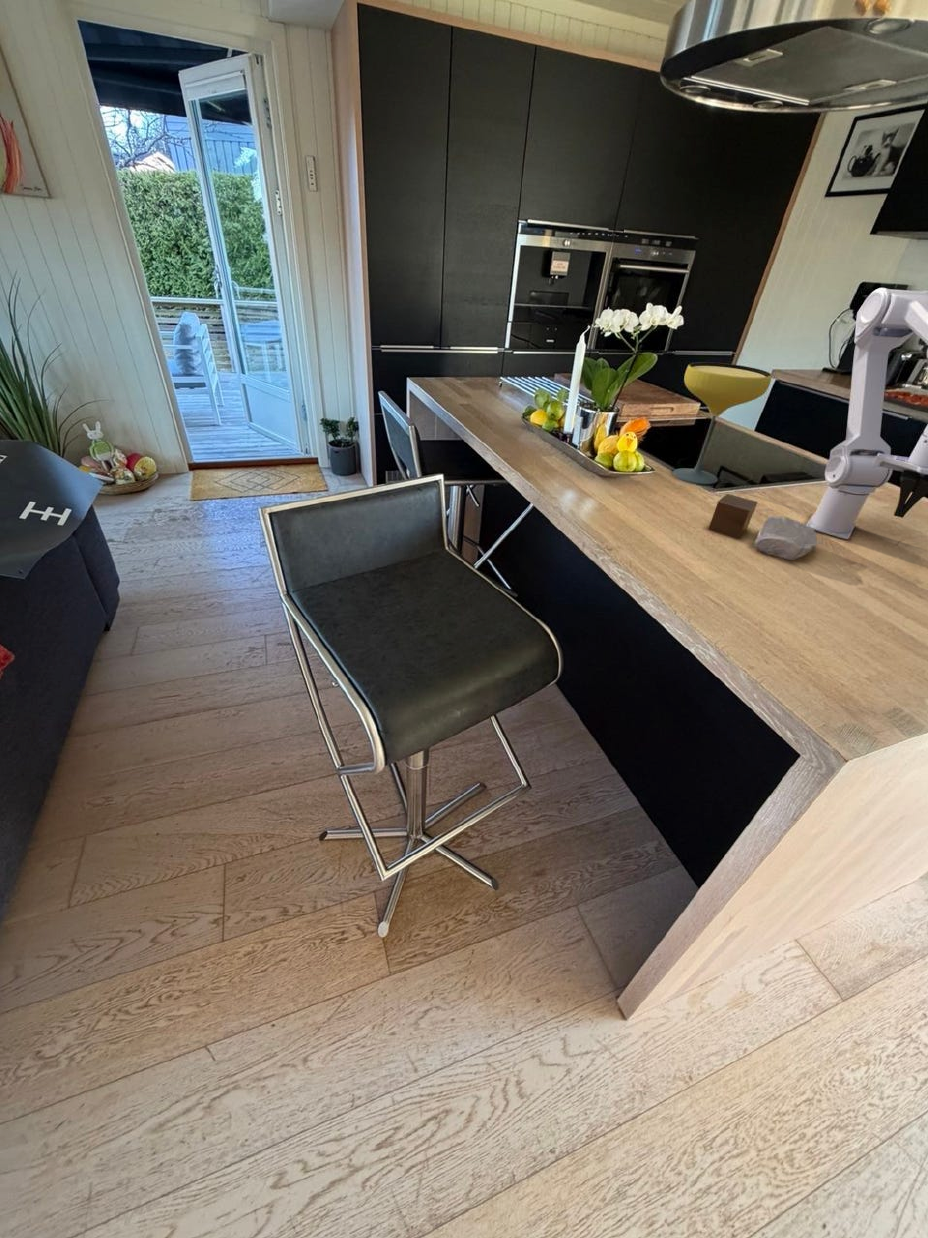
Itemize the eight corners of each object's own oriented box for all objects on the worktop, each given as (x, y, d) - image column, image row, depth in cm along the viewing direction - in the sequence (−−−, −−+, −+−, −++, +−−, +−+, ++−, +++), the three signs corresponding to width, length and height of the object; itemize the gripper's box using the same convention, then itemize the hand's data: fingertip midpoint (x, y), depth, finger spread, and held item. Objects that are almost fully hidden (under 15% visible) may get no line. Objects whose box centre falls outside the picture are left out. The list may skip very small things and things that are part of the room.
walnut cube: (717, 520, 110) (727, 493, 107) (746, 529, 108) (757, 502, 104) (708, 529, 107) (718, 501, 103) (738, 538, 104) (749, 510, 100)
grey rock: (807, 551, 105) (759, 527, 108) (823, 531, 101) (773, 507, 105) (798, 575, 97) (746, 549, 100) (815, 555, 94) (761, 529, 97)
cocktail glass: (737, 474, 136) (775, 369, 121) (727, 496, 123) (769, 381, 108) (667, 459, 142) (695, 359, 128) (650, 478, 130) (680, 368, 115)
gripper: (888, 432, 86) (849, 509, 94) (1000, 453, 79) (948, 535, 87) (892, 424, 91) (854, 498, 99) (999, 444, 84) (948, 522, 92)
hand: (898, 515), depth 93 cm, fingers closed
